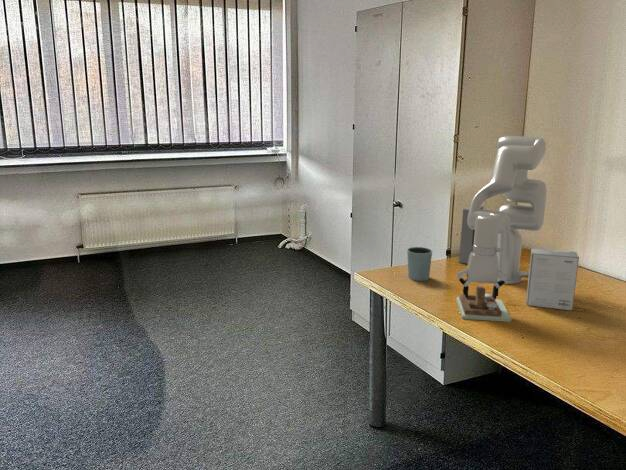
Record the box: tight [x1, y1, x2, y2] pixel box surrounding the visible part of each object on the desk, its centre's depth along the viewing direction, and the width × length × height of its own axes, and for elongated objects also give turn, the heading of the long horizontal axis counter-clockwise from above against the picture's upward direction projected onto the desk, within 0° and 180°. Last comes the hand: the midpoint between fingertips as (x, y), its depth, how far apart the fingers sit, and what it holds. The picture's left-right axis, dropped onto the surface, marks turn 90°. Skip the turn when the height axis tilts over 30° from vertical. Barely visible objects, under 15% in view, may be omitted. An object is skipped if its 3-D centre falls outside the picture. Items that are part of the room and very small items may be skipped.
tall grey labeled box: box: [458, 205, 485, 265], centre depth 252 cm, size 14×6×25 cm, turn 147°
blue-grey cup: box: [406, 246, 433, 282], centre depth 228 cm, size 10×10×12 cm
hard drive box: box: [525, 248, 580, 311], centre depth 199 cm, size 16×8×20 cm, turn 71°
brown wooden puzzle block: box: [458, 285, 502, 317], centre depth 194 cm, size 12×16×7 cm
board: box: [456, 293, 512, 323], centre depth 194 cm, size 16×18×4 cm
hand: (480, 297), depth 194 cm, fingers open, 9 cm apart
